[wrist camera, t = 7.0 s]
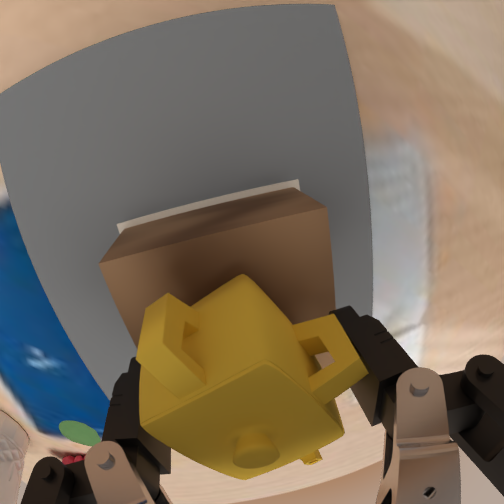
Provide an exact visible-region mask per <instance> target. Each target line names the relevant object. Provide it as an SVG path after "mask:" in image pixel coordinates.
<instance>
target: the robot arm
mask: <svg viewBox="0 0 504 504" xmlns="http://www.w3.org/2000/svg"><path fill="white" fill-rule="evenodd" d="M331 314H335V316H336V318H337V319H338V321H339V322H340V324H341V326H342V327H343V329H344V331H345V332H346V334H347V336H348V338H349V339H350V341H351V343H352V345H353V346H354V348H355V350H356V352H357V353H358V355H359V357H360V359H361V361H362V362H363V364H364V366H365V368H366V369H367V371H368V373H369V374H367V375H366V376H365V377H363V378H362V379H361V380H359V381H358V382H357V383H355V384H354V385H353V386H351V387H350V388H351V390H352V391H353V393H354V395H355V397H356V399H357V400H358V402H359V404H360V406H361V408H362V410H363V411H364V413H365V415H366V417H367V419H368V420H369V422H370V424H371V426H374V425H377V424H379V423H381V422H382V424H383V426H384V428H385V429H386V430H385V435H384V449H383V461H382V472H381V481H380V486H379V490H378V494H377V499H376V504H461V480H460V458H459V448H458V446H459V447H460V448H461V449H462V450H463V451H464V452H465V454H466V455H467V456H468V457H469V458H470V459H471V460H472V461H473V462H474V463H475V465H476V466H477V467H478V468H479V469H480V470H481V471H482V473H483V474H484V475H485V476H486V477H487V478H488V479H489V480H490V481H491V483H492V484H493V485H494V486H495V487H496V488H497V489H498V490H499V492H500V493H501V494H502V495H503V496H504V364H503V363H501V362H500V361H499V360H498V359H496V358H495V357H493V356H490V355H477V356H474V357H473V358H471V359H470V360H469V361H468V363H467V364H466V367H465V370H463V371H459V372H454V373H449V374H444V375H438V374H437V373H436V372H434V371H433V370H431V369H428V368H422V367H418V366H417V365H416V364H415V363H414V362H413V360H412V359H411V358H410V357H409V355H408V354H407V353H406V352H405V351H404V349H403V348H402V347H401V346H400V345H399V343H398V342H397V341H396V340H395V339H393V336H392V335H391V334H390V333H389V332H387V329H386V328H385V327H384V326H383V325H382V323H381V322H380V321H379V320H377V319H375V318H373V317H371V316H369V315H364V316H361V317H360V316H359V315H358V314H357V313H356V311H355V310H354V309H353V308H352V307H351V306H350V305H348V306H345V307H342V308H339V309H336V310H332V311H330V312H329V315H331ZM140 371H141V364H140V363H139V362H138V361H137V360H136V357H132V358H131V360H130V364H129V369H128V372H127V373H122V374H121V375H120V377H119V378H118V380H117V381H116V382H115V384H114V388H113V392H112V398H111V400H110V404H109V405H110V407H109V409H108V413H107V418H106V422H105V427H104V432H103V437H102V441H101V442H99V443H97V444H95V445H94V446H92V447H91V448H90V449H89V451H88V452H87V454H86V456H85V459H84V460H81V461H77V462H74V463H70V464H66V465H64V464H63V463H62V462H61V461H60V460H59V459H57V458H55V457H45V458H43V459H41V460H40V461H38V462H37V463H36V465H35V466H34V468H33V471H32V473H31V476H30V479H29V481H28V484H27V487H26V490H25V493H24V495H23V499H22V501H21V504H173V503H172V502H171V500H170V498H169V497H168V495H167V493H166V492H165V490H164V488H163V487H162V486H161V485H160V474H171V448H170V447H169V446H167V445H165V444H164V443H162V442H161V441H159V440H157V439H156V438H155V437H153V436H152V435H150V434H149V433H148V432H147V431H145V430H144V429H143V428H142V426H141V425H140V416H139V382H140ZM450 437H451V438H452V439H453V440H454V441H451V440H450Z"/></svg>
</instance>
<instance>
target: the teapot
mask: <svg viewBox="0 0 504 504" xmlns="http://www.w3.org/2000/svg"><path fill="white" fill-rule="evenodd" d="M325 352H329V353H330V355H331V356H332V358H333V359H334V361H335V362H333V363H332V364H330V365H329V366H327V367H325V368H324V369H322V367H321V365H320V363H319V362H318V360H317V358H316V356H315V355H317V354H321V353H325ZM136 360H137V361H138V362H139V363H140V364H141V371H140V382H139V416H140V425H141V426H142V428H143V429H144V430H145V431H147V432H148V433H149V434H150V435H152V436H153V437H155V438H156V439H157V440H159V441H161V442H162V443H164V444H165V445H167V446H169V447H170V448H172V449H174V450H175V451H177V452H179V453H181V454H182V455H184V456H186V457H188V458H190V459H192V460H194V461H196V462H198V463H200V464H202V465H204V466H206V467H209V468H211V469H213V470H216V471H218V472H220V473H223V474H226V475H228V476H231V477H234V478H238V479H242V480H247V479H250V478H253V477H256V476H258V475H261V474H264V473H266V472H269V471H272V470H274V469H277V468H279V467H282V466H284V465H286V464H289V463H291V462H293V461H295V460H297V459H300V460H302V461H303V463H304V464H307V465H312V464H314V463H316V462H318V461H320V460H322V457H321V455H320V453H319V450H318V449H320V448H322V447H324V446H326V445H328V444H329V443H331V442H333V441H335V440H337V439H338V438H340V437H342V436H343V434H344V433H345V432H344V428H343V424H342V421H341V417H340V414H339V411H338V408H337V405H336V402H335V399H334V398H336V397H337V396H339V395H340V394H342V393H343V392H344V391H346V390H347V389H349V388H350V387H351V386H353V385H354V384H355V383H357V382H358V381H359V380H361V379H362V378H363V377H365V376H366V375H367V374H369V373H368V371H367V369H366V368H365V366H364V364H363V362H362V361H361V359H360V357H359V355H358V353H357V352H356V350H355V348H354V346H353V345H352V343H351V341H350V339H349V338H348V336H347V334H346V332H345V331H344V329H343V327H342V326H341V324H340V322H339V321H338V319H337V318H336V316H335V314H331V315H327V316H324V317H320V318H317V319H313V320H309V321H306V322H302V323H298V324H294V325H293V324H292V323H291V322H290V321H289V319H288V318H287V317H286V316H285V315H284V313H283V312H282V311H281V310H280V309H279V308H278V307H277V306H276V304H275V303H274V302H273V301H272V300H271V299H270V298H269V297H268V296H267V295H266V294H265V292H264V291H263V290H262V289H261V288H260V287H259V286H258V285H257V284H256V283H255V282H254V281H253V280H252V279H250V278H249V277H248V276H247V275H245V274H241V275H239V276H237V277H235V278H233V279H232V280H230V281H228V282H227V283H225V284H224V285H222V286H221V287H219V288H218V289H216V290H215V291H213V292H212V293H210V294H209V295H207V296H205V297H204V298H202V299H201V300H200V301H198V302H197V303H195V304H194V305H192V306H191V307H190V306H188V305H186V304H185V303H183V302H182V301H180V300H179V299H177V298H176V297H174V296H173V295H171V294H170V293H167V294H165V295H164V296H162V297H161V298H160V299H158V300H157V301H155V302H154V303H153V304H151V305H150V306H148V307H147V308H146V309H145V314H144V319H143V324H142V329H141V334H140V339H139V344H138V349H137V355H136Z"/></svg>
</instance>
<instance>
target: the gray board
mask: <svg viewBox="0 0 504 504" xmlns="http://www.w3.org/2000/svg"><path fill="white" fill-rule="evenodd" d="M0 164H1V168H2V172H3V176H4V180H5V184H6V188H7V192H8V195H9V199H10V202H11V205H12V209H13V212H14V215H15V218H16V221H17V224H18V227H19V230H20V233H21V235H22V238H23V241H24V244H25V246H26V249H27V251H28V254H29V256H30V259H31V261H32V264H33V266H34V269H35V271H36V273H37V275H38V278H39V280H40V282H41V284H42V287H43V289H44V291H45V293H46V295H47V297H48V299H49V301H50V303H51V305H52V307H53V309H54V311H55V313H56V315H57V317H58V319H59V321H60V322H61V324H62V326H63V328H64V330H65V332H66V333H67V335H68V337H69V339H70V340H71V342H72V344H73V345H74V347H75V349H76V350H77V352H78V354H79V355H80V357H81V359H82V360H83V362H84V363H85V365H86V367H87V368H88V370H89V371H90V373H91V374H92V376H93V377H94V379H95V380H96V382H97V383H98V384H99V386H100V387H101V389H102V390H103V392H104V393H105V394H106V396H107V397H108V399H109V400H111V398H112V392H113V388H114V384H115V382H116V381H117V380H118V378H119V377H120V375H121V374H122V373H127V372H128V369H129V364H130V360H131V358H132V357H136V355H137V348H136V346H135V344H134V342H133V340H132V338H131V336H130V334H129V332H128V330H127V328H126V326H125V324H124V321H123V319H122V317H121V315H120V313H119V311H118V309H117V307H116V304H115V302H114V300H113V298H112V295H111V293H110V291H109V288H108V286H107V284H106V281H105V279H104V277H103V274H102V272H101V269H100V267H99V262H100V261H101V259H102V258H103V257H104V255H105V254H106V252H107V251H108V250H109V248H110V247H111V246H112V244H113V243H114V242H115V240H116V239H117V238H118V236H119V235H120V234H121V232H122V231H123V230H124V229H125V228H129V227H132V226H136V225H139V224H143V223H146V222H150V221H154V220H157V219H161V218H165V217H168V216H172V215H176V214H180V213H184V212H187V211H191V210H195V209H199V208H203V207H207V206H211V205H215V204H220V203H224V202H228V201H232V200H236V199H241V198H245V197H249V196H254V195H258V194H263V193H267V192H272V191H276V190H281V189H286V188H291V187H294V188H296V189H298V190H299V191H301V192H303V193H304V194H306V195H308V196H309V197H311V198H313V199H314V200H316V201H318V202H319V203H321V204H323V205H324V206H326V207H327V212H328V220H329V230H330V239H331V250H332V261H333V273H334V287H335V302H336V309H339V308H342V307H345V306H348V305H350V306H351V307H352V308H353V309H354V310H355V311H356V313H357V314H358V315H359V316H360V317H361V316H364V315H369V316H371V317H372V303H373V258H372V229H371V212H370V198H369V186H368V175H367V166H366V157H365V149H364V141H363V134H362V127H361V121H360V115H359V109H358V103H357V97H356V92H355V87H354V82H353V77H352V72H351V67H350V63H349V58H348V54H347V50H346V46H345V42H344V38H343V34H342V30H341V26H340V23H339V19H338V15H337V12H336V9H335V5H329V4H279V5H263V6H251V7H241V8H233V9H226V10H219V11H212V12H207V13H201V14H196V15H191V16H186V17H181V18H177V19H173V20H169V21H165V22H161V23H157V24H153V25H150V26H146V27H143V28H140V29H136V30H133V31H130V32H127V33H124V34H121V35H118V36H115V37H113V38H110V39H107V40H104V41H102V42H99V43H97V44H94V45H92V46H89V47H87V48H85V49H82V50H80V51H78V52H75V53H73V54H71V55H69V56H67V57H65V58H62V59H60V60H58V61H56V62H54V63H52V64H50V65H48V66H46V67H45V68H43V69H41V70H39V71H37V72H35V73H33V74H32V75H30V76H28V77H26V78H25V79H23V80H21V81H20V82H18V83H16V84H15V85H13V86H11V87H10V88H8V89H7V90H5V91H4V92H2V93H1V94H0Z"/></svg>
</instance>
